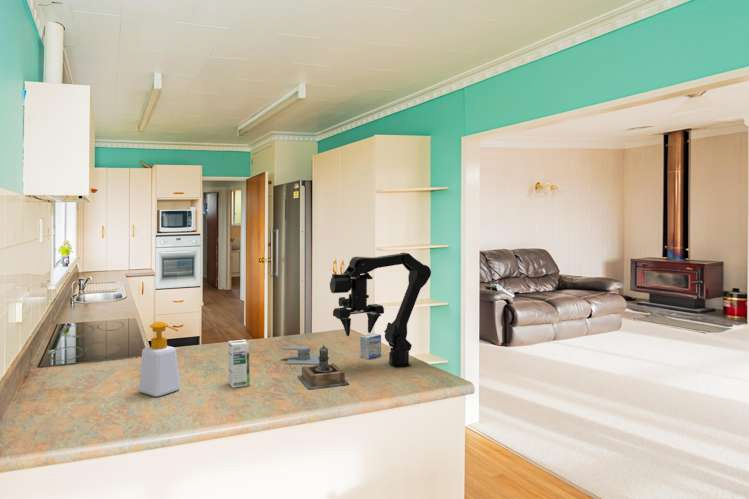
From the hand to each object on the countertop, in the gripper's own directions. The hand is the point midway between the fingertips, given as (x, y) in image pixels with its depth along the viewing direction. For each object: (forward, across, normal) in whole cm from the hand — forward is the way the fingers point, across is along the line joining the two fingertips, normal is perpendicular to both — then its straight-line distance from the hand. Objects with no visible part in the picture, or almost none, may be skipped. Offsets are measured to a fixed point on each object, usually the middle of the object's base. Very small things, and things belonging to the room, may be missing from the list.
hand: (358, 334), depth 199 cm
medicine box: (+13, -13, -12) cm, 22 cm away
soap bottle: (+13, +66, -10) cm, 68 cm away
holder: (+13, +18, +5) cm, 23 cm away
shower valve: (+13, +12, -22) cm, 28 cm away
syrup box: (+13, +43, -6) cm, 45 cm away
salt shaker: (+12, +18, +6) cm, 22 cm away
